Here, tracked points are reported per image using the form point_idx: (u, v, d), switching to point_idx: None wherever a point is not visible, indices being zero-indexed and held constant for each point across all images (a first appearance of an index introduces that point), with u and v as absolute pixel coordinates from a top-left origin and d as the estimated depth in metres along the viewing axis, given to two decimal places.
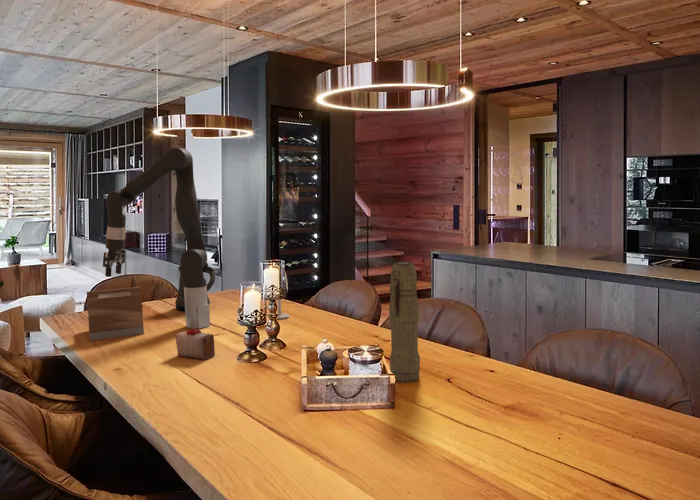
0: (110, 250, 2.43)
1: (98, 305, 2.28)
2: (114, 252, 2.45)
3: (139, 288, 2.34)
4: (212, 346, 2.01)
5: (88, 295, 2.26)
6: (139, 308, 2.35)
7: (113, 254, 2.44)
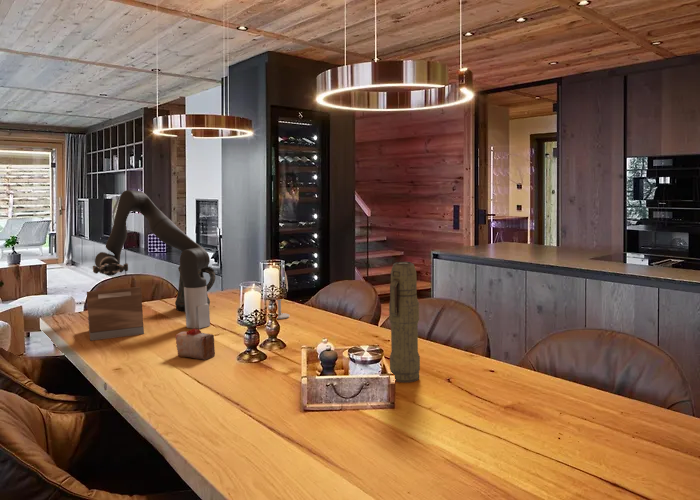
0: None
1: (98, 305, 2.28)
2: None
3: (139, 288, 2.34)
4: (212, 346, 2.01)
5: (88, 295, 2.26)
6: (139, 308, 2.35)
7: None
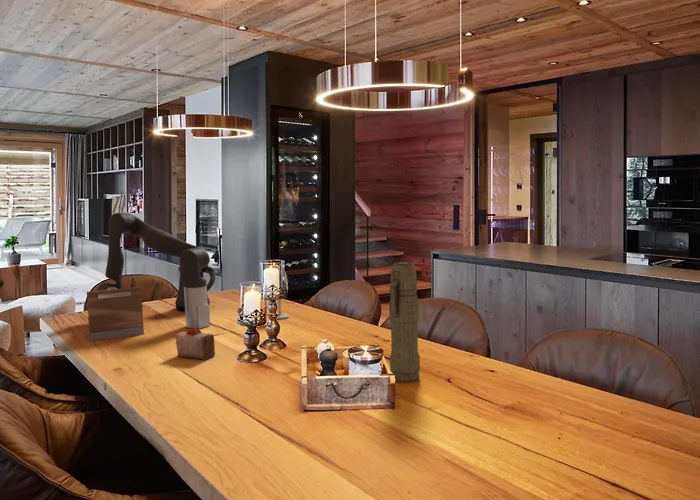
0: None
1: (98, 305, 2.28)
2: None
3: (139, 288, 2.34)
4: (212, 346, 2.01)
5: (88, 295, 2.26)
6: (139, 308, 2.35)
7: None
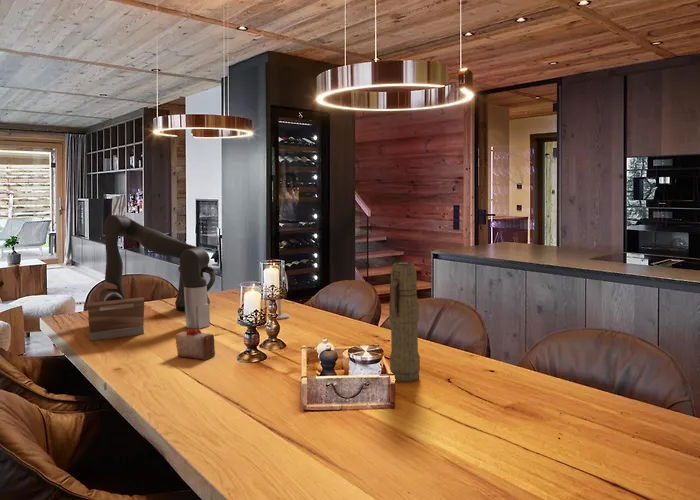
0: None
1: (99, 314, 2.22)
2: None
3: (142, 300, 2.26)
4: (212, 346, 2.01)
5: (89, 308, 2.18)
6: (140, 314, 2.31)
7: None
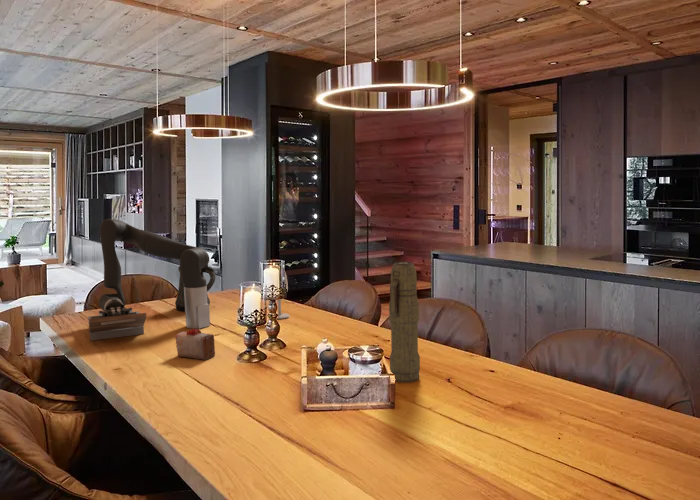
0: None
1: (100, 325, 2.20)
2: (107, 309, 2.32)
3: (144, 316, 2.22)
4: (212, 346, 2.01)
5: (90, 323, 2.15)
6: (141, 322, 2.29)
7: (107, 309, 2.31)
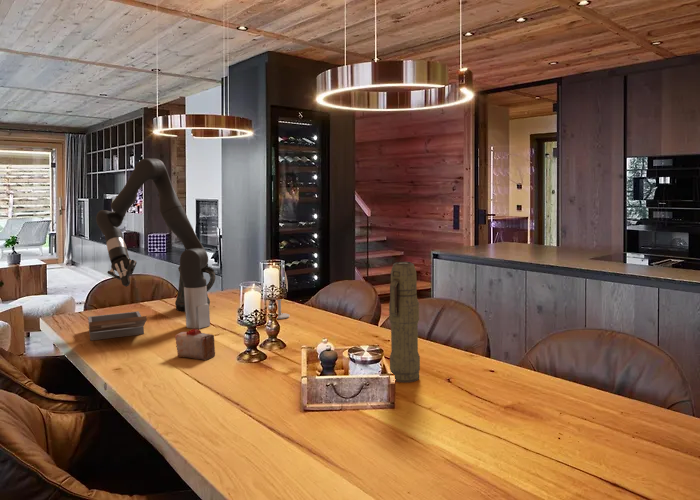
0: None
1: (100, 327, 2.20)
2: (112, 263, 2.45)
3: (145, 320, 2.22)
4: (212, 346, 2.01)
5: (91, 326, 2.15)
6: (142, 323, 2.29)
7: (113, 266, 2.45)
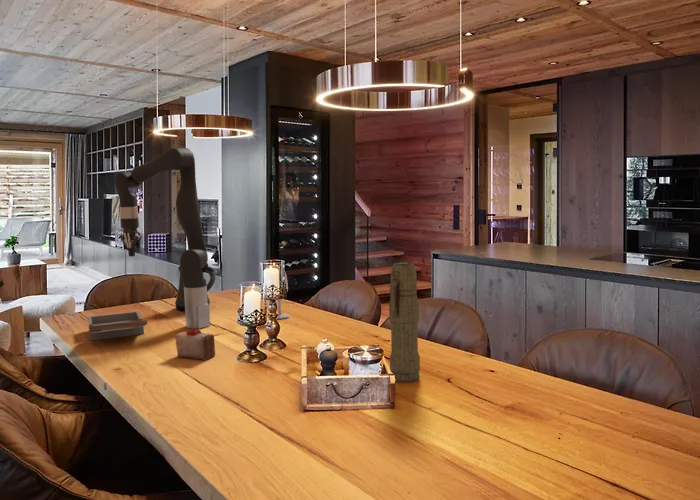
0: None
1: None
2: (123, 230, 2.58)
3: (145, 324, 2.22)
4: (212, 346, 2.01)
5: (91, 330, 2.15)
6: (142, 325, 2.29)
7: (124, 232, 2.58)
